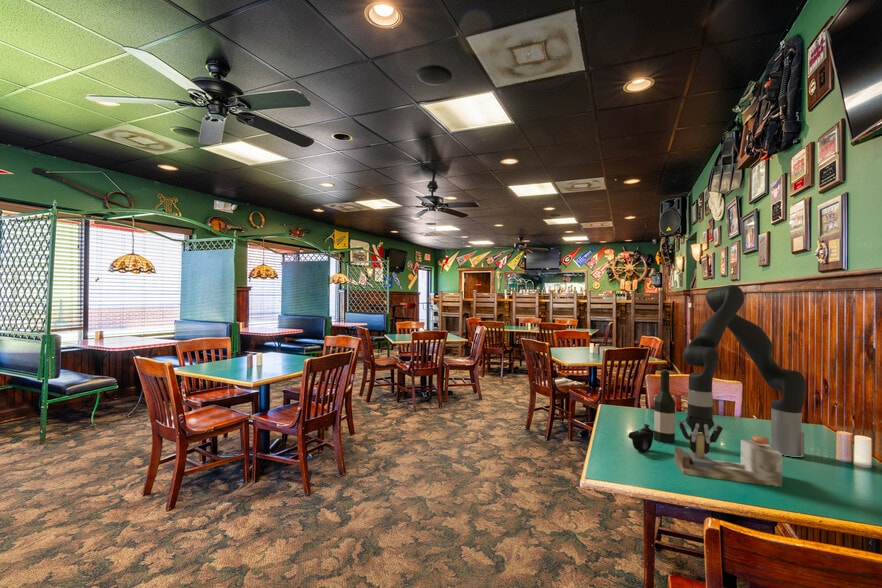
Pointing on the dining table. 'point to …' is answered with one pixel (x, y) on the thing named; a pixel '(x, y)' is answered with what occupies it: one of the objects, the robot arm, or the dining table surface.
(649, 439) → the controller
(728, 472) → the rail board
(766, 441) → the button
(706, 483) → the dining table surface
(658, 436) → the wine bottle
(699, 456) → the carriage
